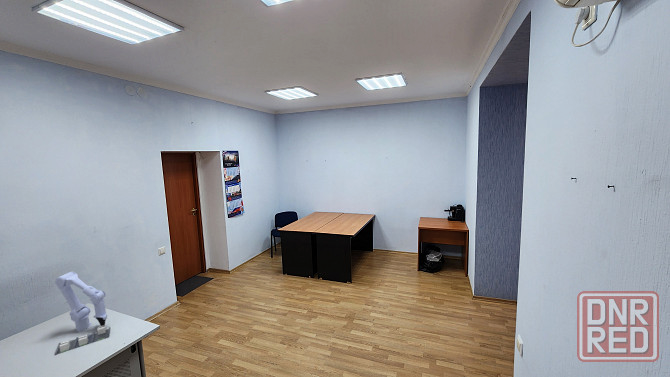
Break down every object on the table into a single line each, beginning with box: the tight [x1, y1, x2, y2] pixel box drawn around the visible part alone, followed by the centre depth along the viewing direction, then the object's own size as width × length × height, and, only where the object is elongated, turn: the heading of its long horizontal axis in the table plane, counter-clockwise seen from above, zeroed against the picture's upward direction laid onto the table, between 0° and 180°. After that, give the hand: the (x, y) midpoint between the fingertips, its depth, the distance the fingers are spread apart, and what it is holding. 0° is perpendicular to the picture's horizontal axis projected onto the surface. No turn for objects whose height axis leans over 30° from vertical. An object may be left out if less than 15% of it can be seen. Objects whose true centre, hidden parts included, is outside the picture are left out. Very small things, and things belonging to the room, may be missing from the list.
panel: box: [54, 326, 111, 356], centre depth 185 cm, size 12×27×2 cm, turn 126°
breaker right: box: [59, 340, 70, 352], centre depth 177 cm, size 4×4×4 cm
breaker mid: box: [78, 334, 88, 347], centre depth 182 cm, size 4×4×4 cm
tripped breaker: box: [96, 324, 107, 335], centre depth 193 cm, size 4×4×4 cm
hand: (102, 325), depth 198 cm, fingers closed
